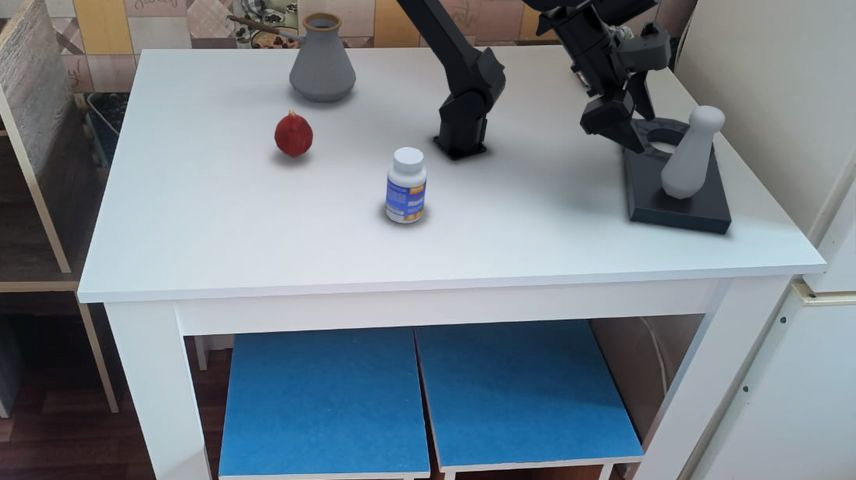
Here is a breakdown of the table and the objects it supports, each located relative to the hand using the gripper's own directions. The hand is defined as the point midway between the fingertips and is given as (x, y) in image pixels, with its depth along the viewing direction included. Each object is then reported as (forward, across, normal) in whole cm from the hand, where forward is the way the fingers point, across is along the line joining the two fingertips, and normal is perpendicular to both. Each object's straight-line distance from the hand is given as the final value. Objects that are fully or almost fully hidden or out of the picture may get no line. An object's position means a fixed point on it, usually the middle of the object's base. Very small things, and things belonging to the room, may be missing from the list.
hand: (647, 135), depth 102 cm
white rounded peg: (+10, 0, +1) cm, 10 cm away
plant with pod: (+1, +30, +14) cm, 33 cm away
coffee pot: (-33, +2, +48) cm, 58 cm away
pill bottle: (-12, -19, +27) cm, 36 cm away
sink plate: (+11, +6, +3) cm, 13 cm away
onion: (-27, -14, +42) cm, 51 cm away
